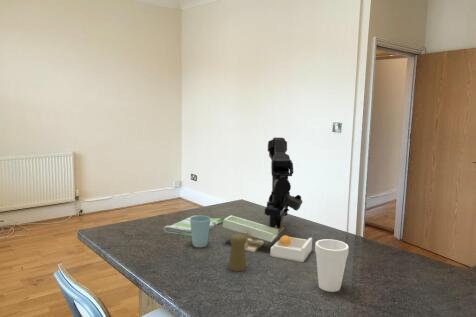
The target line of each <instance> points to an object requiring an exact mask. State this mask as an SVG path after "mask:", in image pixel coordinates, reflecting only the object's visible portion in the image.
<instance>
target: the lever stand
mask: <svg viewBox="0 0 476 317" xmlns="http://www.w3.org/2000/svg"><path fill="white" fill-rule="evenodd" d="M241 234H242V235H244V236H245V237H246V243H245V245H244V248H245V251H248V252H253V253H255V252H257V250H258V249H260V248H261V247H262V246H263V245H264V244H265V240H263V239H258V238H257V237H253V236H251V237H250V238H249V235H248V233H247V232H242V233H241Z"/></svg>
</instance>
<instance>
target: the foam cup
mask: <svg viewBox="0 0 476 317" xmlns="http://www.w3.org/2000/svg"><path fill="white" fill-rule="evenodd" d="M314 246H315V247H314V248H315V249H314V251H315V255H316V256H315V257H316V270H317V280H318V281H317V282H318V283H317V284H318V287H319V288H320V289H321V290H322V291H325V292H329V293H330V292H331V293H334V292H338V291H340V290H341V287H342V282H343V278H344V274H345V268H346V263H347V259H348V256H349V248H350V246H349V245H348V243H345V242H344V241H341V240H337V239H331V238H330V239H327V238H326V239H325V238H324V239H319V240H317V241H315V245H314Z"/></svg>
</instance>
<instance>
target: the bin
mask: <svg viewBox="0 0 476 317" xmlns="http://www.w3.org/2000/svg"><path fill="white" fill-rule="evenodd" d="M289 237H290V239H291V243H290V245H289V246H287V247H284V246H282V245H281V243H280V238H279V239H278V240H277V241H276V242H275V243H274V244H273V245H272V246H271V247H270V251H269V252H270V254H269V255H270V257H273V258H277V259H283V260H289V261H294V262H298V263H299V262H300V263H304V262H305V261H306V259H308V257H309V255H310V254H311V252H312V251H313V250H312V249H313V237H309V238H308V239H307V238H306V239H304V238H300V237H299V238H298V237H293V236H289Z"/></svg>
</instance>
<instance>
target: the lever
mask: <svg viewBox="0 0 476 317" xmlns="http://www.w3.org/2000/svg"><path fill="white" fill-rule="evenodd" d="M222 221H223V223H222V228H225V229H229V230H231V231H233V232H238V233H240V234H242V232H247V233H248V236H253V237H257V239H259V240H262V241H267V242H270V243H273V241H275V240H276V239H277V238H278V236H279V234H280V233H281V232H283V231H284V229H285V227H283V226H284V225H282V226H281V227H280V228H278V227H277V225H276V226H275V227H274V228H273V227H269V225H265V224H262V223H259V222H255V221H252V220H249V219H245V218H243V217H239V216H235V215H228V216H227V217H225V218H224V219H222Z"/></svg>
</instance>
